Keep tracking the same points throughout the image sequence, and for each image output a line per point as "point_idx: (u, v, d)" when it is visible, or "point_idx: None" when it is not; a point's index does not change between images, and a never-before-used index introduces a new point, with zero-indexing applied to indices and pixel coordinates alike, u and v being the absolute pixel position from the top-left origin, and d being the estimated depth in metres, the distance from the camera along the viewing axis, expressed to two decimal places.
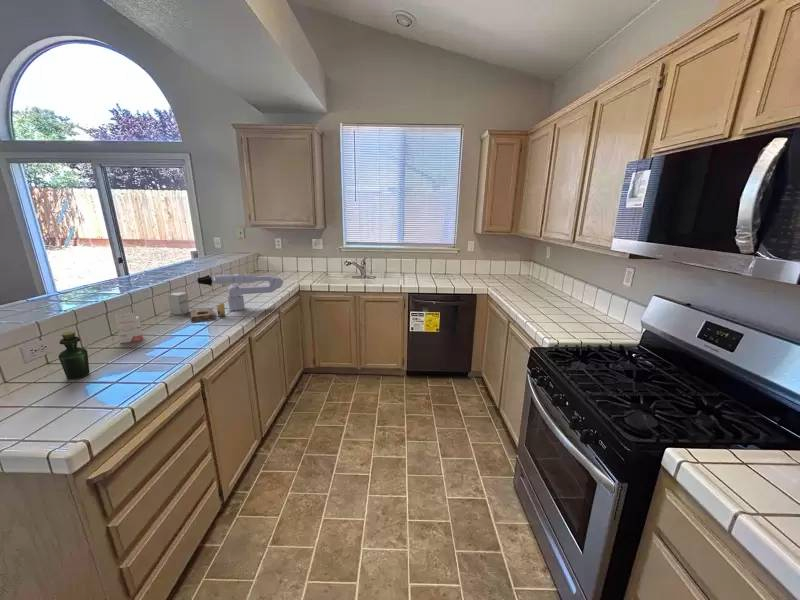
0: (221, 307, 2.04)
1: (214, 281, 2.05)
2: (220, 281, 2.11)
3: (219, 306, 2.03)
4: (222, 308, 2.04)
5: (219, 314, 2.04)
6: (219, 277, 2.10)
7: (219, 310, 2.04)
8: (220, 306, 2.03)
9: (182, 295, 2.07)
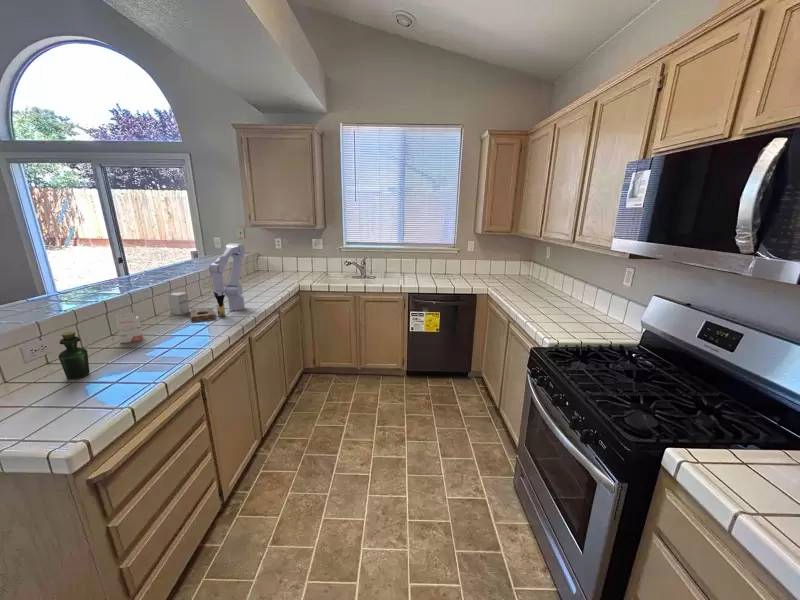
0: (221, 307, 2.04)
1: (219, 293, 1.97)
2: (220, 286, 2.00)
3: (219, 306, 2.03)
4: (222, 308, 2.04)
5: (219, 314, 2.04)
6: (215, 286, 1.99)
7: (219, 310, 2.04)
8: (220, 306, 2.03)
9: (182, 295, 2.07)
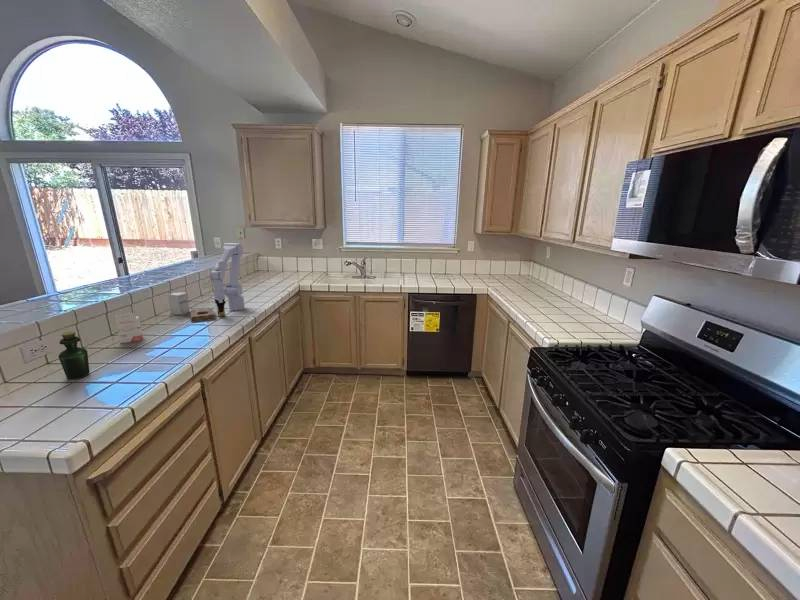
0: None
1: (220, 300, 1.98)
2: (220, 293, 2.01)
3: None
4: None
5: (219, 314, 2.04)
6: (216, 293, 2.00)
7: None
8: None
9: (182, 295, 2.07)
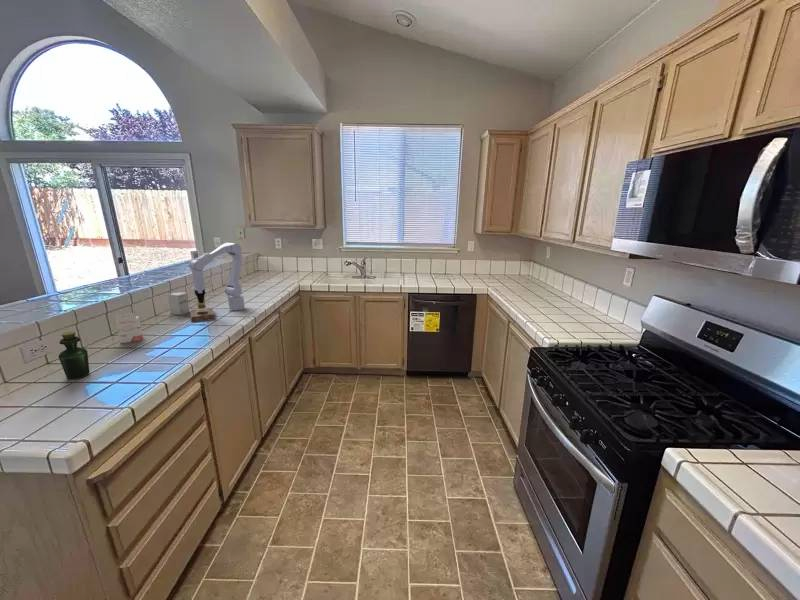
0: None
1: (199, 291, 1.92)
2: (200, 283, 1.96)
3: None
4: None
5: (199, 305, 1.99)
6: (195, 283, 1.95)
7: None
8: None
9: (182, 295, 2.07)
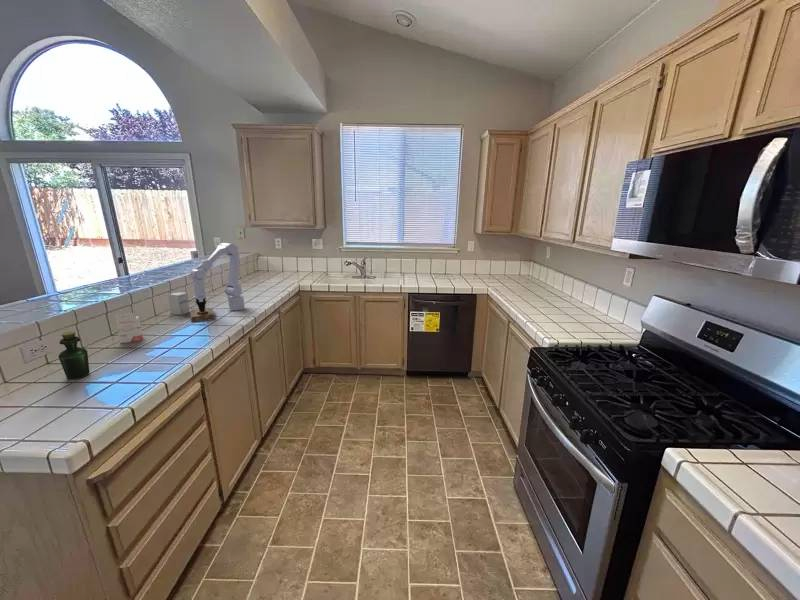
0: None
1: (200, 299, 1.94)
2: (201, 291, 1.97)
3: None
4: None
5: None
6: (196, 292, 1.96)
7: None
8: None
9: (182, 295, 2.07)
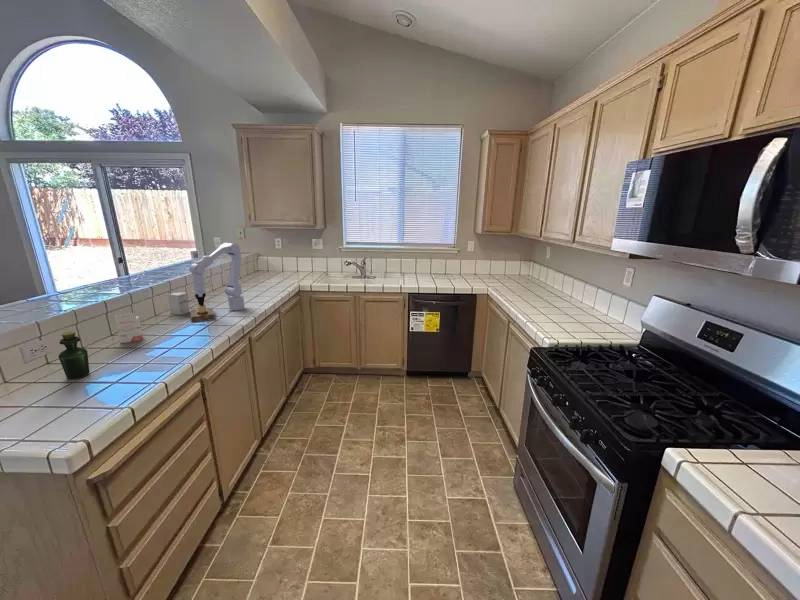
0: (202, 308, 2.00)
1: (199, 294, 1.93)
2: (200, 286, 1.96)
3: (200, 307, 2.00)
4: (203, 309, 2.01)
5: None
6: (195, 287, 1.95)
7: (200, 311, 2.00)
8: (201, 307, 2.00)
9: (182, 295, 2.07)
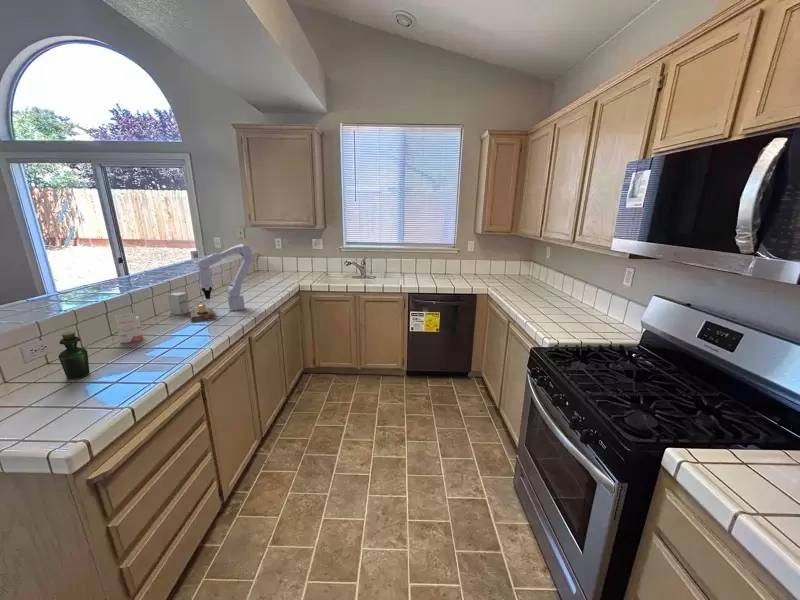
0: (202, 308, 2.00)
1: (206, 288, 2.02)
2: (207, 280, 2.05)
3: (200, 307, 2.00)
4: (203, 309, 2.01)
5: None
6: (202, 281, 2.04)
7: (200, 311, 2.00)
8: (201, 307, 2.00)
9: (182, 295, 2.07)
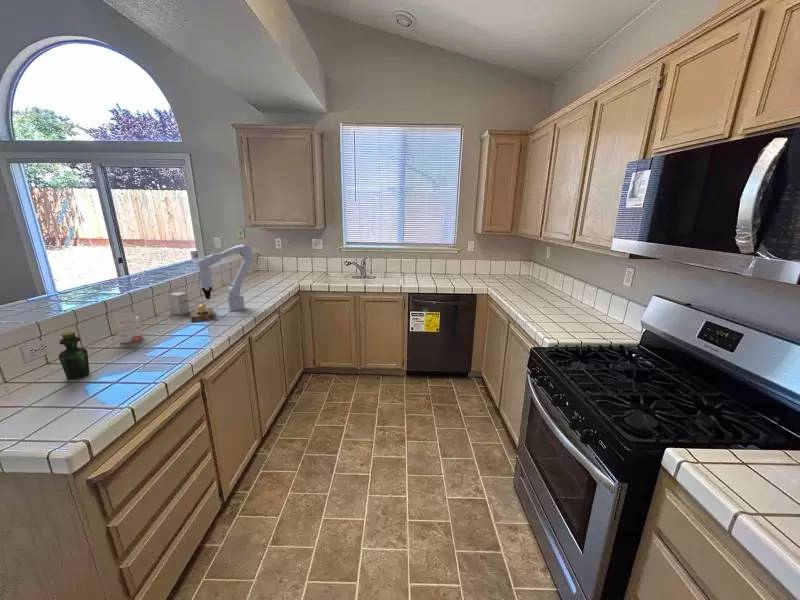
0: (202, 308, 2.00)
1: (206, 288, 2.02)
2: (207, 280, 2.05)
3: (200, 307, 2.00)
4: (203, 309, 2.01)
5: None
6: (202, 281, 2.04)
7: (200, 311, 2.00)
8: (201, 307, 2.00)
9: (182, 295, 2.07)
